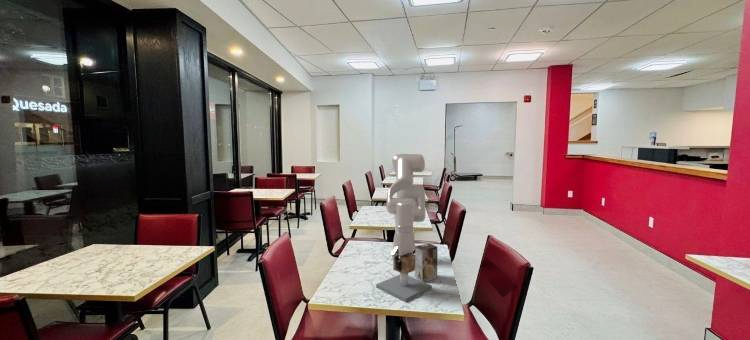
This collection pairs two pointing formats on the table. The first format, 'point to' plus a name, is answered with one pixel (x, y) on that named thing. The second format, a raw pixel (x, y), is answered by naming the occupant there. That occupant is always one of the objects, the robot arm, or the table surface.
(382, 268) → the table surface
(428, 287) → the post stand
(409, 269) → the brown wooden cube
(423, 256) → the coffee box
